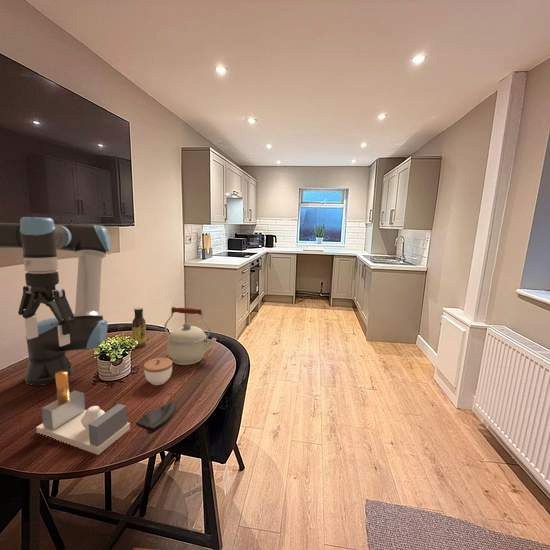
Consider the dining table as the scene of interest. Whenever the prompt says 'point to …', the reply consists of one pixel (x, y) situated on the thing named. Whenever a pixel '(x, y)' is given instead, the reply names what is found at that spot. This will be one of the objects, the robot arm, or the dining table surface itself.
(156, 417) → the curved wedge
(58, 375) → the ram
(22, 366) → the dining table surface
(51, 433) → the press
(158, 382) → the lidded jar
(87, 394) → the dining table surface
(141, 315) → the sauce bottle
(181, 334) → the kettle
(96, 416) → the white steamed bun
